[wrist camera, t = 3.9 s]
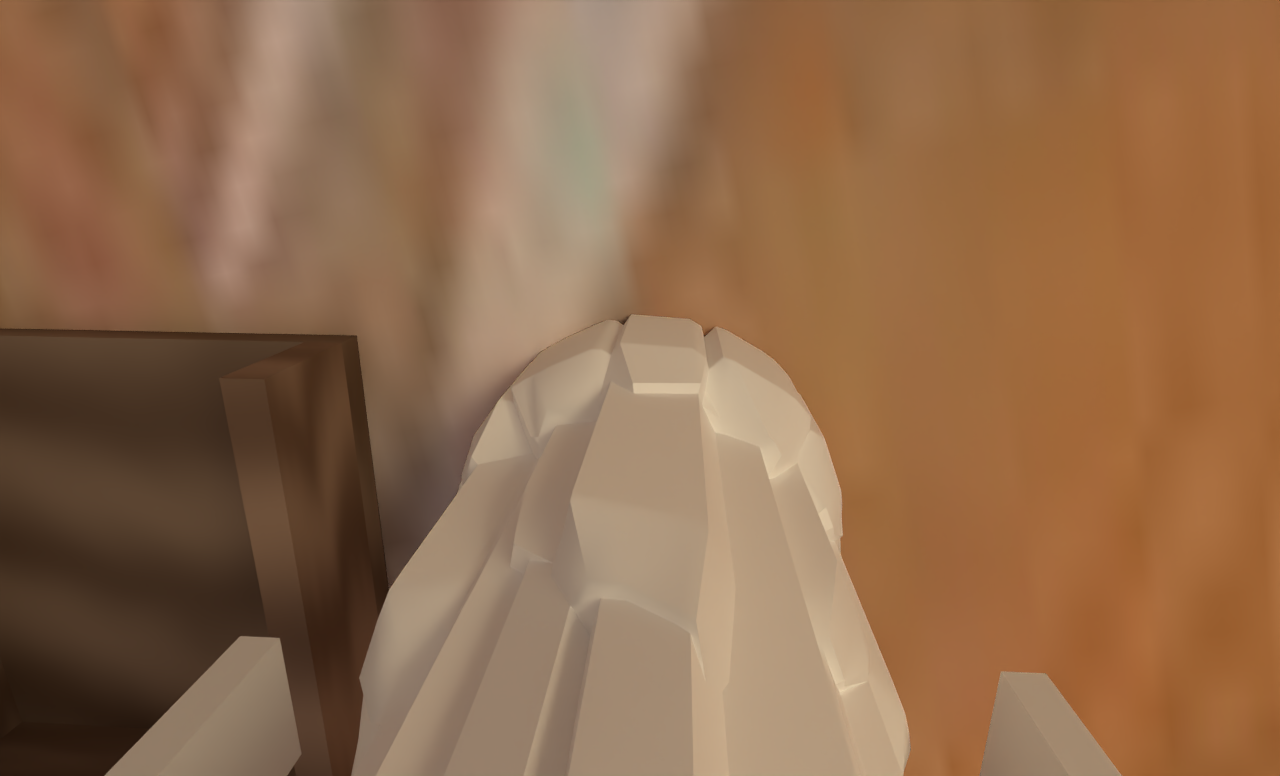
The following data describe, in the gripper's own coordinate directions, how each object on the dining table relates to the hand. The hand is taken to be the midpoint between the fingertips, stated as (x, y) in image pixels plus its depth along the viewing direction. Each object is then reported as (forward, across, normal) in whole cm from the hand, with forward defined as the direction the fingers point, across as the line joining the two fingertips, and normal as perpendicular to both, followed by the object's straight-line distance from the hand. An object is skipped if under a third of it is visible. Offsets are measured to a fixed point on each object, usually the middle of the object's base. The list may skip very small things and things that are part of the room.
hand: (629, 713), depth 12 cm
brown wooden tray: (+11, -18, -4) cm, 21 cm away
